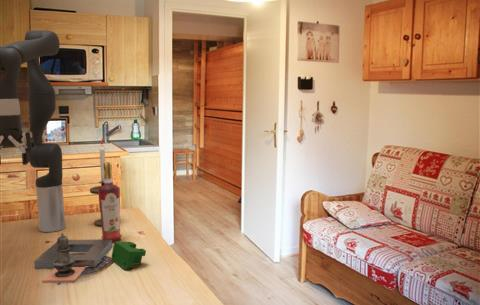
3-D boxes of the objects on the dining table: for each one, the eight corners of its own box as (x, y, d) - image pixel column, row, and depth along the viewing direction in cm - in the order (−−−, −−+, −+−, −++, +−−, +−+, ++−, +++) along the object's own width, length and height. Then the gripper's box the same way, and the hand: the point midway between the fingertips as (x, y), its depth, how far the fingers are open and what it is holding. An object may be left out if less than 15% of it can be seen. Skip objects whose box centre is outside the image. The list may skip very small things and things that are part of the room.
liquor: (120, 235, 156) (116, 160, 152) (124, 241, 149) (120, 163, 145) (99, 238, 153) (95, 162, 149) (102, 245, 146) (97, 165, 142)
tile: (55, 269, 127) (55, 267, 127) (86, 268, 127) (86, 266, 127) (42, 282, 118) (42, 280, 118) (74, 282, 118) (74, 280, 118)
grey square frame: (59, 246, 145) (59, 239, 145) (112, 246, 145) (112, 239, 145) (34, 268, 127) (34, 260, 127) (95, 267, 127) (94, 260, 127)
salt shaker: (79, 272, 123) (77, 232, 121) (59, 279, 118) (56, 238, 117) (69, 267, 127) (67, 228, 125) (50, 273, 122) (47, 233, 120)
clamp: (139, 278, 130) (149, 255, 127) (120, 279, 126) (131, 255, 123) (127, 253, 139) (136, 230, 136) (109, 253, 135) (118, 230, 132)
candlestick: (122, 219, 177) (118, 135, 172) (116, 227, 166) (112, 138, 161) (96, 219, 176) (91, 135, 171) (88, 228, 165) (82, 138, 160)
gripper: (35, 112, 136) (39, 162, 139) (-10, 113, 136) (-5, 163, 138) (24, 114, 129) (29, 166, 131) (-24, 114, 128) (-18, 167, 131)
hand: (11, 164), depth 135 cm, fingers open, 8 cm apart
